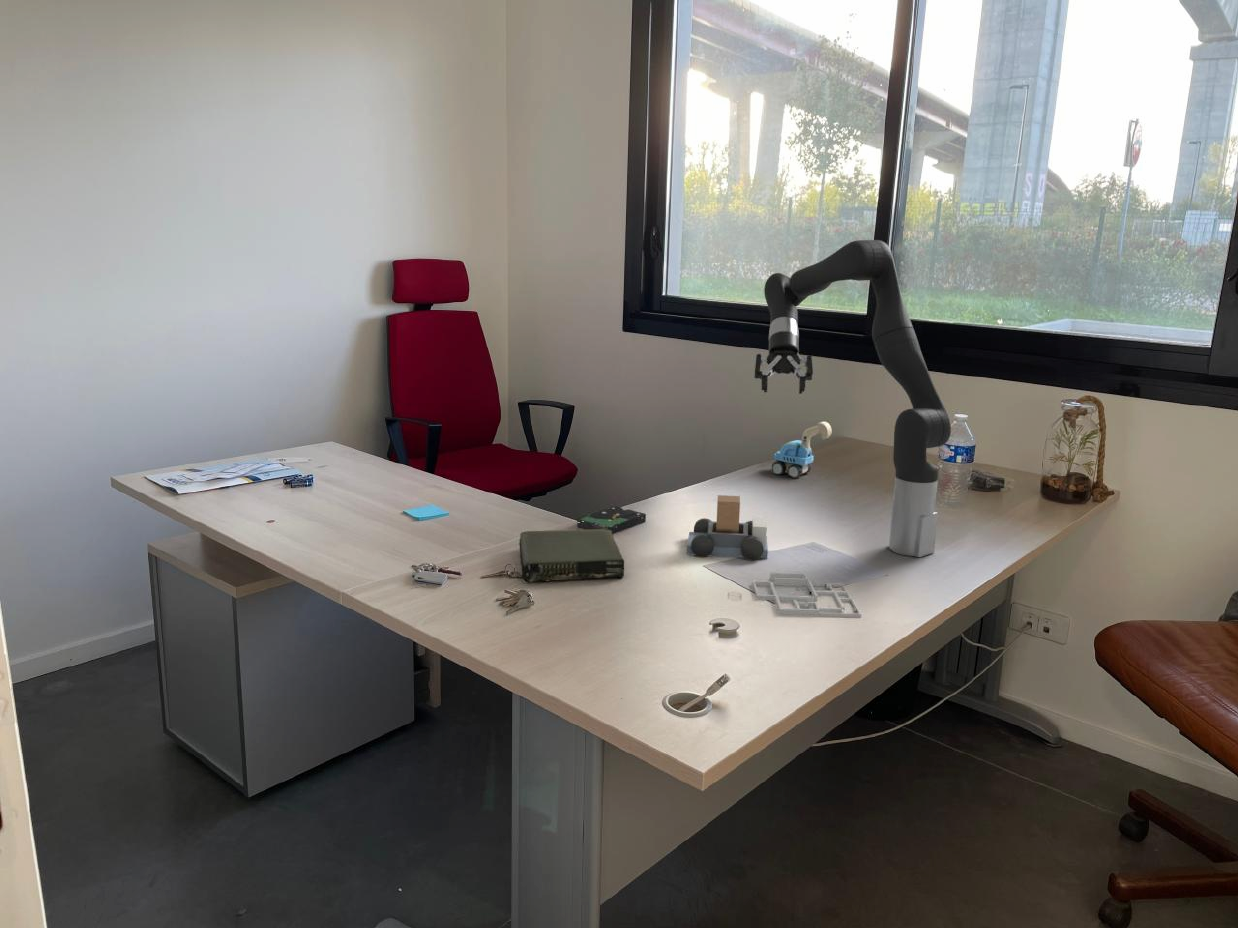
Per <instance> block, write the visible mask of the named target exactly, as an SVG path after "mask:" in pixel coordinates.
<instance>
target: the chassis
mask: <svg viewBox="0 0 1238 928" xmlns="http://www.w3.org/2000/svg"><path fill="white" fill-rule="evenodd" d="M766 518H767V517H766V516H762V515H761V516H759V515H758V516H757V515H752V519H751V520H749V521H746V522H739V533H738V534H735V533H717V532H716V525H717V521H713V520H711V519H709V518H705V517H704V518H700V519H698V520H697V521H696V522H695V524H694V526H693V531H689V533H688V539H687V544H686V555H695V556H696V557H699V558H706V557H709V556H714V557H715V556H716V557H718V556H719V557H731V558H734V557H735V558H745V559H746V560H749V561H757V560H758V559H765V560H766V559H768V552H769V549H768V536H767V519H766Z"/></svg>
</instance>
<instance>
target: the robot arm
mask: <svg viewBox="0 0 1238 928" xmlns="http://www.w3.org/2000/svg"><path fill="white" fill-rule="evenodd" d="M892 253H893V252H892V250H891V248H890V247H889V246H888V244H887V243H886V242H884V241H883V240H880V239H861V240H860V239H859V240H857V239H856V240H853V241H851V242H848V243H847V244H844V245H843V246H842V247H840V248H839V249H837V250H836V251H835V252H833V253H832V254H830V255H829V256H828V257H826V258H824V259H823V260H820V261H818V262H816V263H813V264H812V265H808V266H806V267H803V268H800V269H799V270H796V271H794V273H792V274H791V276H790V277H789V276H787V275H785V274H783V273H780V272H775V273H773V274H771V275H770V276H768V277H767V279H766V282H765V284H764V289H763V291H764V293H763V294H764V298H765V301H766V304H767V308H768V311H769V315H770V320H769V322H770V323H769V331H768V332H769V333H768V355H767V356H764V355H763V356H762V354H760V353H757V354H756V357H755V365H754V366H755V367H754V379H760V380H761V386H760V387H761V388H760V389H761V391H763V393H768V379H769V378H770V377H772V376H773V375H774V374H775V373H776V374H786V375H789V374H792V375H793V376H794V377H795V378H796V379H798V394H801V395H802V394H803V393H804V392H805V391H806V381H811V380H812V379H813V375H814V371H813V370H814V369H813V357H812V356H811V355H807V356H806V357H801V356H800V353H799V352H800V349H799V347H800V346H799V343H800V341H799V339H800V338H799V337H800V333H799V332H800V331H799V327H798V325H799V324H798V323H799V314H798V309H797V306H799V305H800V304H801V303H802V302H804V301H805V300H806V299H807V298H808V297H810V296H812V295H815V294H819V293H820V292H823V291H824V290H826V289H827V288H828V287H830V286H831V284H832V283H835V282H840V281H841V282H842V281H857V282H858V281H862V282H863V281H870V283H871V285H872V288H873V292H874V295H875V300H876V308H875V313H874V317H873V322H872V327H871V337H872V341H873V344H874V345H873V346H874V348H875V350H876V352H877V353H876V354H877V356H878V358H879V359H878V360H879V361H880V363H881V364H882V366H883V368H884V369H885V370H886V371H887V372H888V374H890V376H892V378H893V379H894V380H895V381H896V382H897V383H898V384H899V385H900V386H901V388H902V389H903V390H904V391H905V393H906V395H907V397H908V398H909V400H910V404H911V406H912V408H908V409H905V410H903V411H901V412H900V413H899V414H898V416H897V417H896V421H895V424H894V431H893V457H892V459H893V460H892V461H893V465H894V469H895V475H894V476H895V477H894V486H893V487H894V488H893V496H892V498H893V499H892V506H891V519H890V531H889V541H888V549H889V550H890V551H892V553H896V554H899V555H903V556H908V557H909V556H910V557H916V558H921V557H923V556H927V555H930V554H933V553H935V548H936V541H937V540H936V539H937V529H938V522H939V521H938V519H939V513H938V512H937V511H936V501H937V490H938V482H939V481H938V480H939V473H940V472H939V467H938V466H937V465H936V464H933V463H931V462H928V461H927V449H933V448H938V447H941V446H944V445H946V444H947V442H948V441H949V439H950V437H951V432H952V431H951V430H952V425H951V421H950V417H949V414H948V413H947V410H946V407H945V406H944V403H943V401H942V399H941V396H940V395H939V393H938V390H937V388H936V387H935V384H934V382H933V380H932V377H931V375H930V372H929V370H928V366H927V364H926V361H925V358H924V356H923V353H922V351H921V347H920V344H919V340H918V338H917V334H916V332H915V329H914V326H913V324H912V321H911V319H910V316H909V315H910V314H909V313H908V309H907V306H906V302H905V300H904V297H903V294H902V290H901V287H900V282H899V278H898V274H897V273H898V272H897V269H896V266H895V265H896V264H895V260H894V256H893V254H892ZM765 363H767V367H766V368H765V369H764V370H763V371H762V370H761V367H762V366H763V365H764V364H765ZM801 364H802V365H803V367H804V368H805V369H806V372H804V370H802V367H801V366H800V365H801Z"/></svg>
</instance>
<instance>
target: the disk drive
mask: <svg viewBox="0 0 1238 928" xmlns="http://www.w3.org/2000/svg"><path fill="white" fill-rule="evenodd" d="M646 517H647V514H646V513H644V512H640V511H635V510H633V509H629V508H628V509H624V508H622V507H621V506H617V505H614V506H609V507H607V508H605V509H603V510H602V509H601V510H598V511H596V512H593V513H590V514H588V515H584V516H582V517H579V518H577V521H576V523H577V522H580V523H577V525H576V526H577V529H578V528H579V529H581V530H593V529H605V530H610V531H612V535H615V534H617V532H618V533H620V532H624V531H625V530H628V529H631V528H633V527H636V526H639V525H642V524H644V523H646V521H647V520H646V519H647V518H646ZM582 521H584V522H582ZM614 533H615V534H614Z"/></svg>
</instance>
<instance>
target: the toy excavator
mask: <svg viewBox="0 0 1238 928" xmlns="http://www.w3.org/2000/svg"><path fill="white" fill-rule="evenodd" d="M832 432H833V431H832V426H831V425H830V423H829V422H827V421H821V422H818V423H817V425H815V426H812V427H809V428H807V429H806V430H804V431H803V433H802V436H801V439H800V440H799V439H796V440H792V441H789V442H787V443H785V444H783V445H782V446H781V448H780V450H778V451H776V452H775V453H774V456H773V459H774V460H775V462H773V463H772V464H771V472H772V473H773V474H774V475H782V474H785V473H787V474H788V477H792V479H797V478H799V477H801V476H802V475H806V474H808V473H810V471H811V470H812V463H813V462H814V459H815V456H814V454H813V450H812V449H813V448H811V438H812V437H813V436H815V435H817V434H820V435H821V439H822V440H826V439H827V438H830V437H831V435H832Z"/></svg>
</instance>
